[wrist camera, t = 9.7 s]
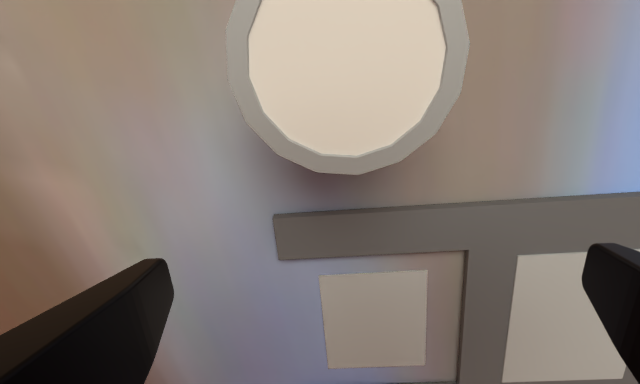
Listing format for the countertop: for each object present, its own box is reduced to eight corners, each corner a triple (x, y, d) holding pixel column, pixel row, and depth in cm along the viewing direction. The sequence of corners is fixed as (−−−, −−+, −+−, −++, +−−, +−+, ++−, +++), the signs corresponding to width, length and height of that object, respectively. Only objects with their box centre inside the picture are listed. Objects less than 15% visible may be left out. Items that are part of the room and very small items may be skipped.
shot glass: (444, -19, 16) (514, -41, 10) (392, 138, 19) (420, 199, 13) (281, -66, 16) (245, -120, 10) (251, 102, 19) (207, 147, 12)
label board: (717, 185, 20) (731, 191, 19) (645, 401, 26) (654, 412, 25) (274, 212, 21) (272, 219, 20) (303, 411, 27) (302, 422, 26)
